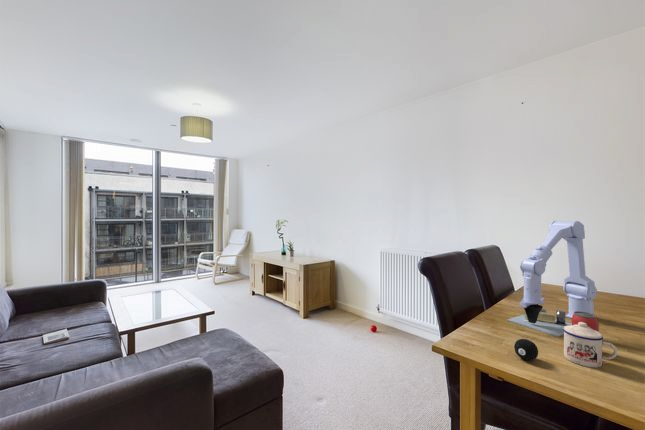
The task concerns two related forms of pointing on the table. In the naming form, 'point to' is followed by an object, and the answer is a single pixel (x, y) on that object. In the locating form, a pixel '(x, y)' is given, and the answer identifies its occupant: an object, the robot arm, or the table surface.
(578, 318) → the beer can
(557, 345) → the table surface
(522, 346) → the billiard ball
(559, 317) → the door knob
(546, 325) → the door panel
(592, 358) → the teacup with lid
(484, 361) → the table surface
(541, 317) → the swing bar
